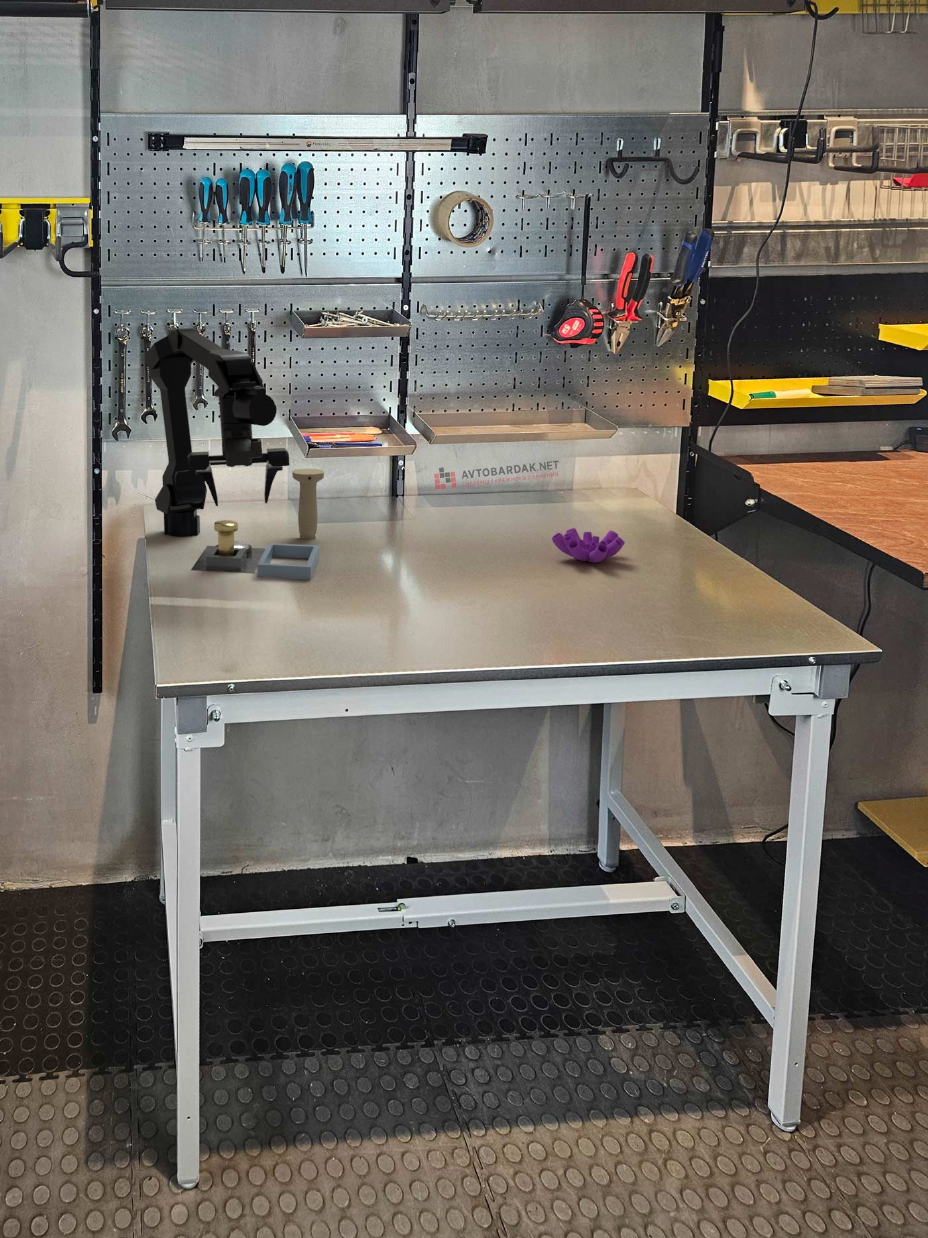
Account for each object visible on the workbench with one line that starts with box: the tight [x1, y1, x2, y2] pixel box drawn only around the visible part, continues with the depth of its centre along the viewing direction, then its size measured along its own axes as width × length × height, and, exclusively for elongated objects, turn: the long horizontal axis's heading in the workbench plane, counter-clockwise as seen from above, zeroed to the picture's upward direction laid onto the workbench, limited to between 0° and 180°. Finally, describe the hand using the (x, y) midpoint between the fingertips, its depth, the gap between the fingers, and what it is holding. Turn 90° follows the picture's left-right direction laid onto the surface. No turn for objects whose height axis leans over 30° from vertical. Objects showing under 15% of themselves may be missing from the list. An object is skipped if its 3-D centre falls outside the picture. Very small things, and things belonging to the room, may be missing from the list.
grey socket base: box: [190, 540, 266, 574], centre depth 255 cm, size 12×16×4 cm
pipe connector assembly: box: [551, 527, 626, 563], centre depth 268 cm, size 11×15×10 cm
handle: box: [291, 468, 325, 540], centre depth 270 cm, size 5×6×15 cm
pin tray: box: [256, 542, 320, 580], centre depth 253 cm, size 10×14×4 cm
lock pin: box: [213, 519, 239, 556], centre depth 251 cm, size 4×4×8 cm
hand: (241, 504), depth 248 cm, fingers open, 9 cm apart
